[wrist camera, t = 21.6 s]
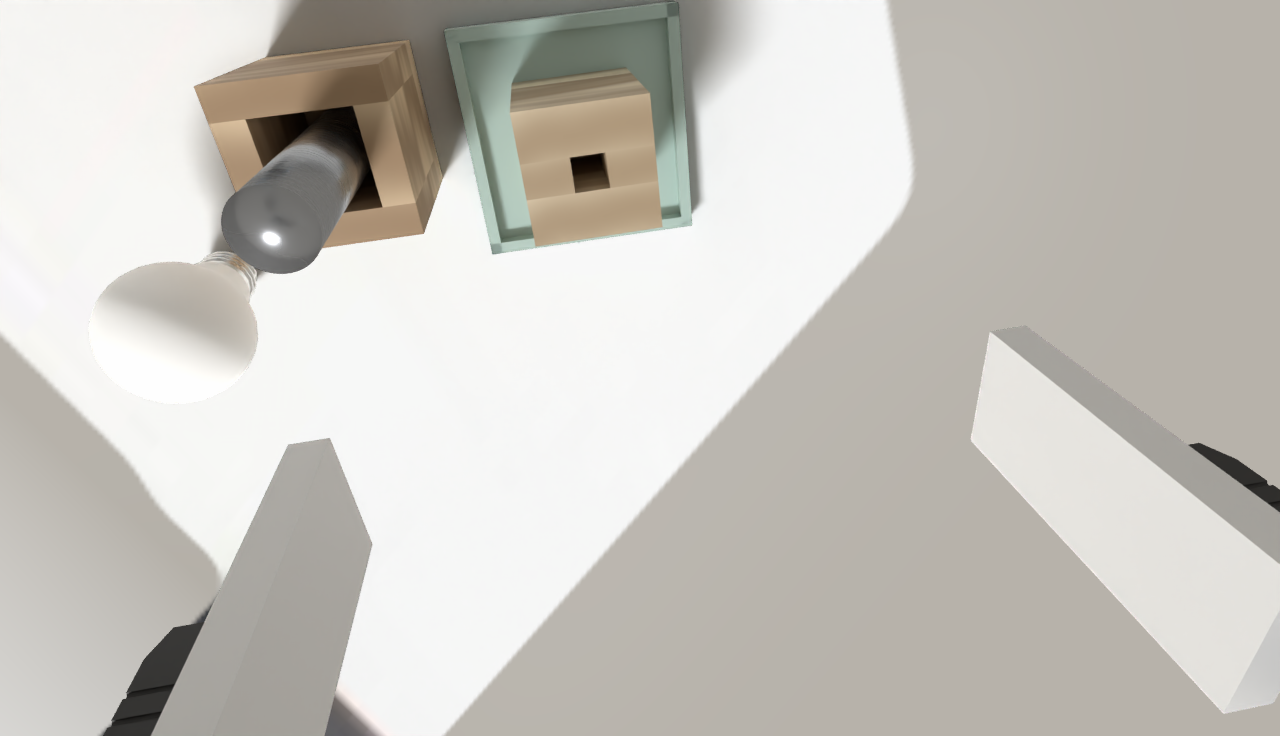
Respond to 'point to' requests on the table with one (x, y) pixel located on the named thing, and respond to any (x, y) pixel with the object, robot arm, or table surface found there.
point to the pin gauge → (298, 195)
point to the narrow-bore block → (586, 155)
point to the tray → (560, 49)
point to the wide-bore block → (300, 93)
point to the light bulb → (177, 328)
